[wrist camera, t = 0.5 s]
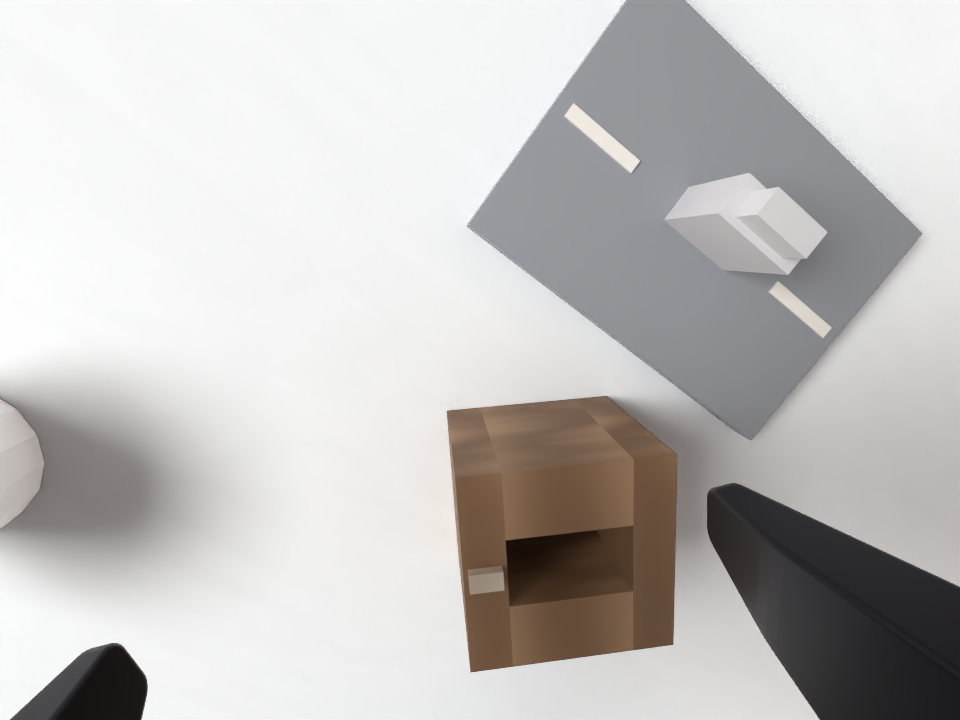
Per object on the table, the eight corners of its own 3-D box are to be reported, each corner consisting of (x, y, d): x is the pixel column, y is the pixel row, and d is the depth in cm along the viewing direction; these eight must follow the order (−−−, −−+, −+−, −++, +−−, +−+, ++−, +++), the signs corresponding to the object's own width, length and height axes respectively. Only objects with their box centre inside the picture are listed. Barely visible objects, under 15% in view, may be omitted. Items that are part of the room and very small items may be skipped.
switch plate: (898, 234, 20) (1066, 229, 15) (736, 431, 21) (839, 492, 16) (638, -18, 17) (731, -134, 12) (466, 226, 19) (482, 216, 13)
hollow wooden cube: (606, 396, 21) (682, 458, 14) (607, 539, 22) (677, 651, 16) (446, 410, 20) (455, 482, 14) (458, 556, 21) (471, 680, 15)
